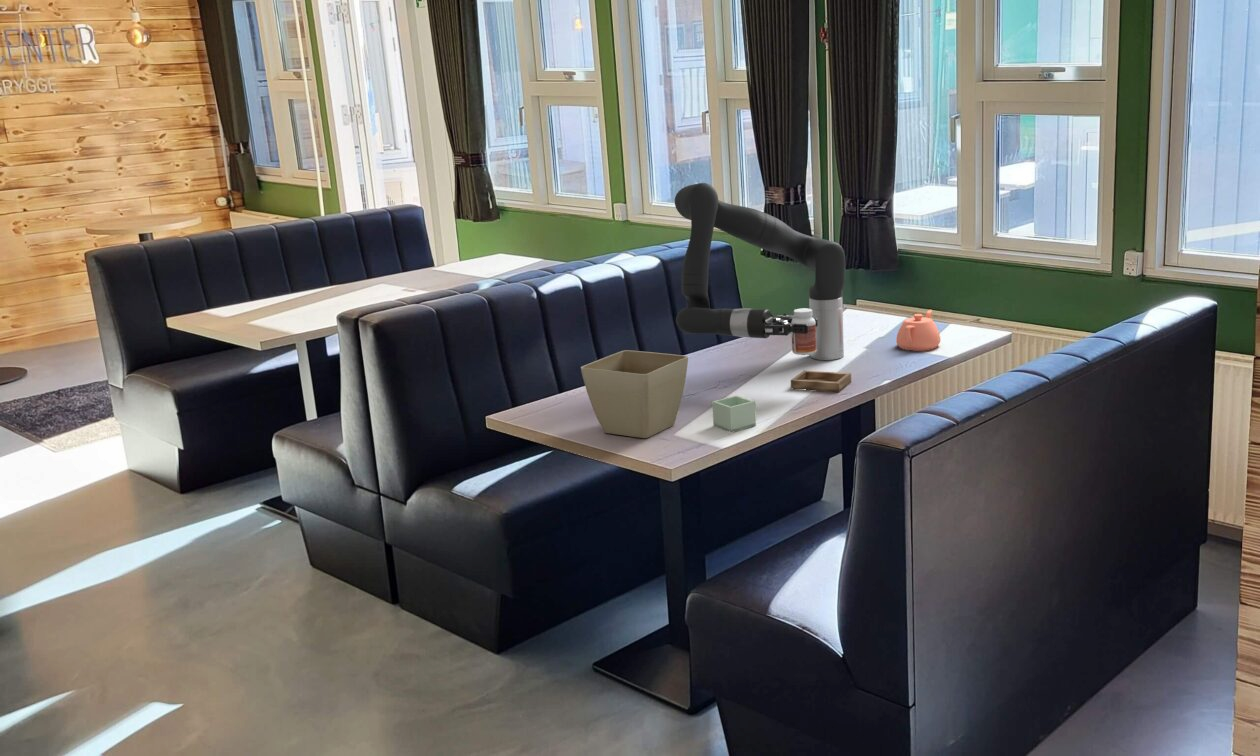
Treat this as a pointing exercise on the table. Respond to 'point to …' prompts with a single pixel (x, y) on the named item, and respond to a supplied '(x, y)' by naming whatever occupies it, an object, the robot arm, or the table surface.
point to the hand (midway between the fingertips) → (812, 325)
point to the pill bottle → (802, 341)
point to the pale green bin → (734, 413)
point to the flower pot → (636, 391)
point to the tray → (821, 381)
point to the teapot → (918, 333)
